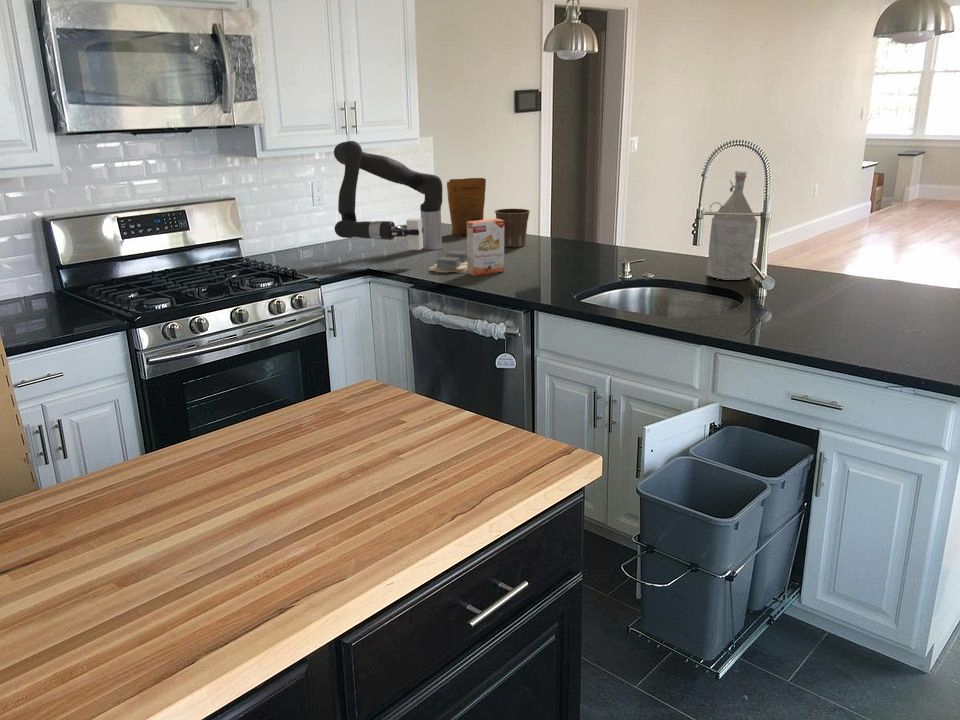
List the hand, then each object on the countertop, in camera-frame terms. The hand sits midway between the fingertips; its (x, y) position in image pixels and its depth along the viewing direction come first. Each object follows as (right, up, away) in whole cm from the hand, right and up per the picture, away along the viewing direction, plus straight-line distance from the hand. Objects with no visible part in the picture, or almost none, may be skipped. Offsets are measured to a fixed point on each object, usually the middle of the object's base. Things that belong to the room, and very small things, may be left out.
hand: (420, 231), depth 317 cm
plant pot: (+39, 0, +44) cm, 59 cm away
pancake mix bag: (+18, +10, +72) cm, 75 cm away
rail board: (+13, -15, +2) cm, 20 cm away
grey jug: (+118, -22, -23) cm, 122 cm away
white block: (-2, -7, +3) cm, 8 cm away
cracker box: (+27, -18, -8) cm, 33 cm away
